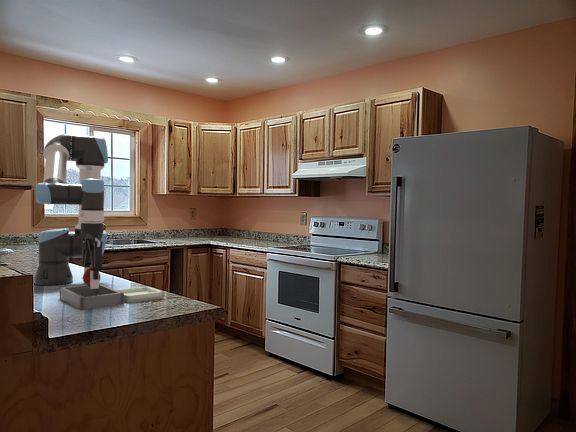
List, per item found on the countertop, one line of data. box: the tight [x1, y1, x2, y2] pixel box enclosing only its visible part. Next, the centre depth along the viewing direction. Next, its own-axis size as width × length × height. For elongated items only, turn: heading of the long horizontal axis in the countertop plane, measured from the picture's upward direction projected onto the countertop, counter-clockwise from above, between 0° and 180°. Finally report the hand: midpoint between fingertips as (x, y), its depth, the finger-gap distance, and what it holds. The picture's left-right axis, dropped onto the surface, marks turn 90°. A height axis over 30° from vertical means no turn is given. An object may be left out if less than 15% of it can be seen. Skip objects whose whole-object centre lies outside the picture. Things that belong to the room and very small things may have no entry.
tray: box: [116, 285, 165, 304], centre depth 168 cm, size 14×14×2 cm
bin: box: [59, 283, 125, 311], centre depth 159 cm, size 22×14×4 cm, turn 43°
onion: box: [82, 265, 101, 287], centre depth 160 cm, size 6×6×8 cm
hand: (91, 286), depth 160 cm, fingers closed on onion, 6 cm apart
